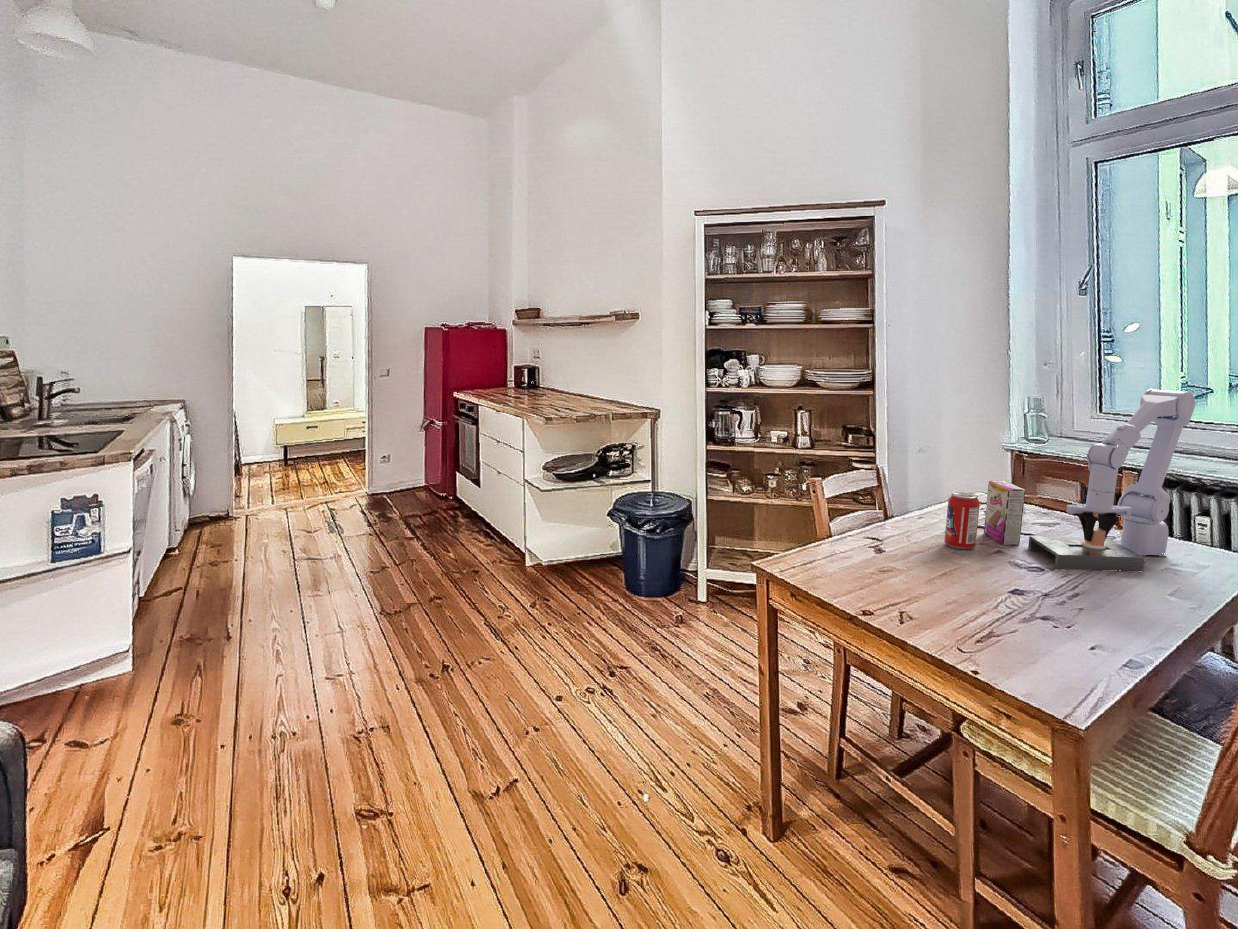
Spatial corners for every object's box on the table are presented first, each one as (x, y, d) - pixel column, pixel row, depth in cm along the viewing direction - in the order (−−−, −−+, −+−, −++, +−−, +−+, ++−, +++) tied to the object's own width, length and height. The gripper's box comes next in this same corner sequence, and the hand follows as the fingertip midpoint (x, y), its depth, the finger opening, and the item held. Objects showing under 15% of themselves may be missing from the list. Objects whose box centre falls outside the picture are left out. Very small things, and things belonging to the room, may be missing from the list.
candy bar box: (982, 533, 200) (987, 480, 197) (998, 533, 200) (1004, 480, 196) (1002, 545, 189) (1008, 489, 186) (1020, 545, 189) (1026, 489, 186)
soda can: (972, 552, 183) (977, 499, 180) (941, 547, 188) (946, 495, 185) (977, 545, 189) (982, 493, 186) (947, 540, 194) (952, 490, 191)
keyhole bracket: (1106, 551, 183) (1108, 538, 183) (1142, 572, 168) (1145, 557, 167) (1028, 548, 186) (1029, 535, 185) (1056, 568, 170) (1058, 554, 170)
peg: (1097, 552, 178) (1101, 526, 177) (1109, 559, 173) (1113, 532, 172) (1075, 551, 179) (1079, 525, 178) (1086, 558, 174) (1090, 531, 172)
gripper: (1122, 487, 176) (1115, 536, 178) (1063, 485, 178) (1056, 534, 180) (1139, 493, 169) (1131, 545, 172) (1077, 492, 171) (1070, 543, 173)
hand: (1094, 540), depth 175 cm, fingers closed on peg, 3 cm apart
